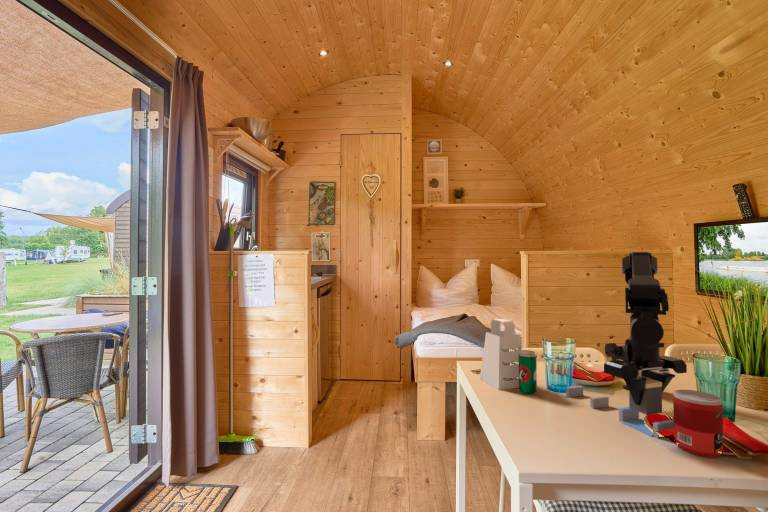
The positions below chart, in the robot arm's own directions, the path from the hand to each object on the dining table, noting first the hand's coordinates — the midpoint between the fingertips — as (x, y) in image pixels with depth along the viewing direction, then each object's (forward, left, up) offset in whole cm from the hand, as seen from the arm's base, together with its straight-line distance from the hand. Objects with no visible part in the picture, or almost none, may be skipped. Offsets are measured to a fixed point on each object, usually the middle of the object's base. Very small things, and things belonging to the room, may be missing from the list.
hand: (645, 403), depth 92 cm
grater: (+13, -39, -6) cm, 41 cm away
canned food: (-1, +11, -6) cm, 13 cm away
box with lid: (0, 0, -2) cm, 2 cm away
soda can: (+11, -29, -6) cm, 31 cm away
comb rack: (0, -9, -6) cm, 10 cm away
